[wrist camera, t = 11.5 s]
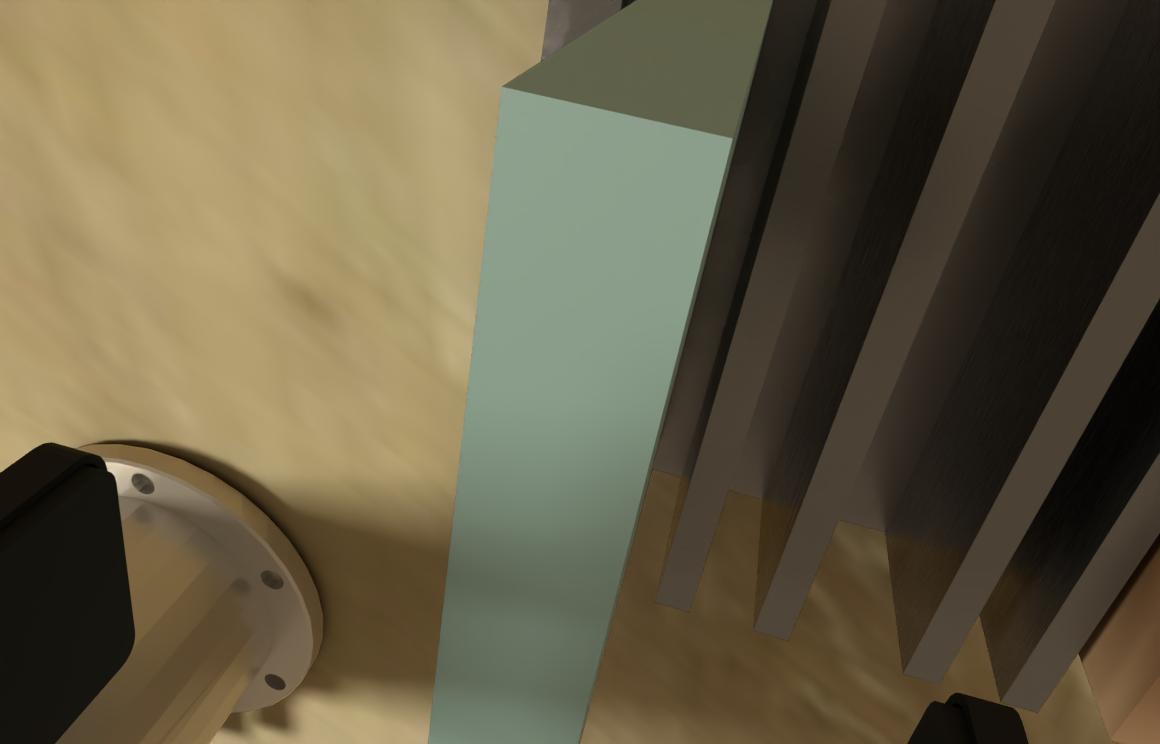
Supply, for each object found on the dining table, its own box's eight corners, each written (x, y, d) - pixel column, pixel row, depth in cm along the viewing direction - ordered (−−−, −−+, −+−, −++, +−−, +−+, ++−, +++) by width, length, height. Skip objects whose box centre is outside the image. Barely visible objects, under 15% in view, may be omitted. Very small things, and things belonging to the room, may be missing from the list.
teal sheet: (658, 442, 24) (512, 997, 12) (603, 427, 24) (403, 960, 12) (780, -29, 18) (733, 137, 6) (704, -44, 18) (502, 86, 6)
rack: (1195, 583, 24) (1314, 792, 18) (506, 399, 26) (427, 536, 20) (1577, 64, 17) (1963, 150, 11) (583, -130, 19) (490, -139, 13)
